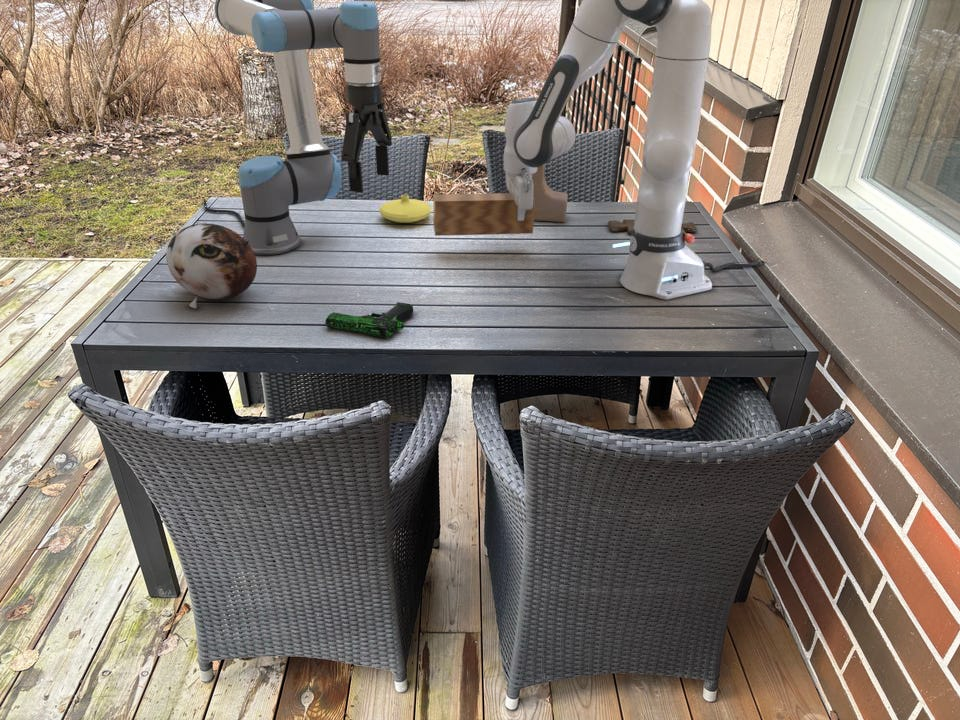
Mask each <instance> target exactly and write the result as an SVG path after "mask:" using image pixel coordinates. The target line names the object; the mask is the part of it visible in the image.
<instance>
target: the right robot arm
mask: <svg viewBox="0 0 960 720" xmlns="http://www.w3.org/2000/svg"><path fill="white" fill-rule="evenodd" d="M631 19H632V20H634V21H636V22H639V23H641V24H642V25H643V24H644V25H645V26H648V27H655V29H656V33H657V39H656V49H655V56H654V63H653V72H652V82H651V88H650V96H649V104H648V112H647V119H646V126H645V132H644V133H645V134H644V141H643V149H642V163H641V169H640V170H641V171H640V178H639V184H638V192H637V197H636V198H637V199H636V206H635V214H634V220H635V221H634V226H633V227H632V231H631V234H630V238H629V241H627V242H621V243H614V244H612V248H619V247H625V246H629V247H628V248H629V249H628V250H629V252H628V256H627V260H626V264H625V267H624V269H623V272H622V274H621V276H620V279H619V283H620V285H621V286H622V287H624V288H625V289H627V290H629V291H631V292H632V293H633V292H634V293H636V294H640V295H644V296H651V297H654V298H658V299H660V300H671V299H676V298H681V297H684V296H689V295H694V294H697V293H702V292H706V291H707V292H708V291H710V290H712V288H713V283H712V281H711V279H710V278H709V277H708V276H707V275H706V274H705V272H706V267H708V268H709V270H710V271H711V272H713V273H717V272H720V271H722V270H724V269H725V268H729V267H745V268H747V267H754V266H757V265H759V264H760V263H761V262H758V259H757V260H755V261H752V262H747V263H748V264H735V263H736V262H727V263H724V264H721V265H720V266H718V267H714V266H713V264H712V263H711V262H708V261H707V262H706V261H704V260H703V259H701V258H700V257H699V256H698V255H697V254H696V252H694V251H693V250H692V249H691V248H690V247H688V246H687V245H686V243H687V244H690V245H692V244H693V243H695V240H696V239H695V236H694V235H692V234H691V233H690V232H686V231H685V232H684V231H683V230H681V226H682V223H683V219H684V214H685V208H686V201H687V193H688V187H689V186H688V185H689V179H690V172H691V171H690V170H691V167H692V165H693V162H694V161H695V160H694V159H695V154H696V146H697V141H698V134H699V133H698V132H699V126H700V120H701V119H700V118H701V112H702V111H701V110H702V104H703V96H704V90H705V83H706V77H707V71H708V64H709V57H710V52H711V42H712V11H711V8H710V6H709V4H708V3H706V2H705V1H703V0H582V1H581V3H580V5H579V7H578V9H577V12H576V14H575V16H574V18H573V21H572V24H571V26H570V29H569V32H568V33H567V36H566V38H565V41H564V44H563V45H562V48H561V51H560V53H559V55H558V56H557V58H556V60H555V63H554V65H553V66H552V67H551V70H550V72H549V73H548V75H547V78H546V79H545V82H544V83H543V86H542V88H541V91H540V93H539V95H538V97H537V98H536V97H523V98H519V99H515V100H512V101H511V102H510V103H509V104H508V107H507V111H506V115H505V125H504V138H505V146H504V150H503V155H502V161H503V172H504V173H505V174H504V176H505V185H506V189H507V191H508V193H511V195H512V197H513V199H514V201H515V203H516V205H517V207H518V212H517V219H518V220H519V221H523V220H524V215H525V212H526V210H531V209H532V207H533V180H532V174H533V173H536V172H537V168H538V167H540V166H542V165H543V164H545V165H546V163H548V162H550V161H551V160H554V159H557V158H559V157H561V156H562V155H564V154H567V153H568V152H570V151H571V150H572V149H573V147H574V145H575V143H576V139H577V133H576V127H575V126H574V124H573V122H572V121H571V120H570V119H569V118H567V117H566V116H564V115H562V113H563V111H564V109H565V107H566V105H567V102H568V101H569V99H570V97H571V96H572V94H573V93H574V92H575V91H576V90H577V89H578V88H579V87H580V86H581V85H583V84H584V83H585V82H587V81H588V80H590V79H591V78H592V77H594V76H595V75H597V74H598V73H600V72H601V71H603V69H604V68H605V67H606V66H607V64H608V63H609V61H610V60H611V58H612V56H613V54H614V53H615V51H616V48H617V46H618V44H619V41H620V39H621V36H622V34H623V32H624V30H625V28H626V26H627V24H628V23H629V21H630V20H631ZM685 242H686V243H685Z"/></svg>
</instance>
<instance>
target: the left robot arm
mask: <svg viewBox="0 0 960 720" xmlns="http://www.w3.org/2000/svg"><path fill="white" fill-rule="evenodd" d="M214 14H215V17H216V20H217V22H218V23H219V25H220V26H221V27H222V28H223V29H224V30H225V31H227V32H228V33H230V34H233V35H235V36H248V37H250V38H253V41H254V44H255V45H256V47H257V49H258V50H259V51H261V52H264V53H268V52H269V53H272V55H273V59H274V66H275V71H276V76H277V82H278V87H279V92H280V93H279V94H280V98H281V104H282V108H283V114H284V119H285V124H286V130H287V135H288V140H289V145H290V146H289V148H288V149H287V151H286V153H285V155H286V160H283V158H282V157H281V156H279V155H273V154H271V155H262V156H257V157H253V158H250V159H248V160H245V161H244V162H243V163H241V165H240V166H239V167H238V170H237V174H238V186H239V190H240V196H241V201H242V208H243V212H244V213H243V215H244V219H245V220H244V219H243V218H242V216H241V215H240V213H239V212H237V211H235V210H230V209H215V208H209V207H208V206H207V205H208V204H207V203H208V201H207V200H205V199H204V201H203V207H204V209H205V210H206V211H207V212H211V213H224V214H225V213H227V214H228V213H229V214H233V215H236V216H237V218H238V220H239V221H240V223H241V225H242V227H243V228H244V229H243V235H242V237H243V238H244V239H245V240H246V241H249V242H248V244H249V245H250V247H251V248H252V250H253V252H254V254H255V256H256V255H257V256H275V255H281V254H282V255H283V254H285V253H289V252H291V251H293V250H296V249H297V248H298V247H299V246H300V244H301V241H300V235H299V233H298V231H297V229H296V227H295V225H294V223H293V220H292V218H291V216H290V207H289V206H295V205H301V204H308V203H312V202H313V203H314V202H323V201H325V200H329V199H333V198H335V197H337V195H338V194H339V193H340V190H341V187H342V178H343V177H342V175H343V174H342V168H341V167H342V166H341V163H340V161H339V158H338V157H337V155H335V154H334V153H331V150H330V147H329V146H328V145H326V144H325V143H324V142H323V136H322V130H321V125H320V119H319V113H318V107H317V102H316V97H315V90H314V84H313V78H312V74H311V67H310V61H309V56H308V50H321V49H322V50H323V49H342V53H343V67H344V80H345V83H347V84H346V86H345V91H346V92H345V94H346V102H347V103H348V104H349V105H351V106H352V107H353V111H352V112H346V113H345V128H344V134H343V135H344V136H343V142H342V143H343V144H342V149H341V150H342V151H341V158H340V159H341V161H342V162H345V163H347V171H348V180H349V181H348V182H349V191H350V192H352V193H353V192H354V193H361V194H362V193H364V188H363V174H362V162H361V161H359V160H360V156H361V152H362V148H363V146H364V141H365V138H366V135H367V134H368V133H369V131H370V132H371V135H372V137H373V139H374V140H375V142H376V144H377V145H375V148H374V149H375V166H376V175H377V176H378V175H379V176H390V168H389V166H390V165H389V150H388V149H389V148H388V147H392V145H393V142H392V140H393V136H392V133H391V129H390V126H389V123H388V122H389V121H388V119H387V115H386V111H385V110H386V109H385V103H384V101H383V86H382V84H381V81H382V72H383V68H382V67H381V49H380V48H381V46H380V20H379V15H378V14H379V13H378V7H377V5H376V4H375V2H373V1H365V0H349V1H343V2H342V3H341V4H340V6H339V7H338V6H334V7H333V6H330V7H326V8H323V9H322V8H320V9H318V8H317V9H315V7H314V4H313V1H312V0H215V2H214ZM206 202H207V203H206ZM205 206H206V207H205Z"/></svg>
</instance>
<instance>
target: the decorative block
mask: <svg viewBox="0 0 960 720" xmlns="http://www.w3.org/2000/svg"><path fill="white" fill-rule="evenodd" d="M545 169H546V163H545V164H543V165H542V166H540V167H538V168H537V172H536V173H533V174H532V180H533V197H534V199H535V207H534V221H539V222H541V221H542V222H555V223H556V222H557V223H565V222H566V220H567V212H568V211H567V209H568V194H567V193H566V192H561V191H557V190H553V189H552V188H551V187H550V186H548V183H547V180H546V176H545V171H546V170H545Z"/></svg>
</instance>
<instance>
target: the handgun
mask: <svg viewBox="0 0 960 720" xmlns="http://www.w3.org/2000/svg"><path fill="white" fill-rule="evenodd" d="M413 305H414V304H413ZM413 305H412V304H410V303H406V302H399V301H397V302H396V304H395V305H394V306H393V307H391V308H390V309H389V310H388V311H386V312H382V313H381V314H380V313H376V312H375V313H374V312H372V313H371V314H366V315H361V316H357V315H352V314H344V313H341V312H331V313H330V314H328V315H327V316H326V318H325V322H324V323H325V326H326V327H327V328H332V329H337V330H346V331H350V332H357V333H362V334H366V335H369V336H374V337H375V338H381V339H388V338H390V337H391V336H393V335H394V334H396V332H397V331H401V330H403V329H404V328H405V324H404V323H403V322H404V321H406V320H409V319H410V318H411V317H412V316H413V315H414V306H413Z"/></svg>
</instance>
